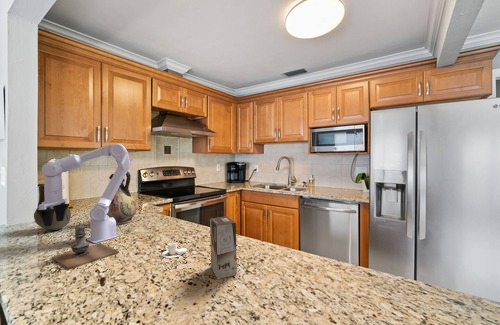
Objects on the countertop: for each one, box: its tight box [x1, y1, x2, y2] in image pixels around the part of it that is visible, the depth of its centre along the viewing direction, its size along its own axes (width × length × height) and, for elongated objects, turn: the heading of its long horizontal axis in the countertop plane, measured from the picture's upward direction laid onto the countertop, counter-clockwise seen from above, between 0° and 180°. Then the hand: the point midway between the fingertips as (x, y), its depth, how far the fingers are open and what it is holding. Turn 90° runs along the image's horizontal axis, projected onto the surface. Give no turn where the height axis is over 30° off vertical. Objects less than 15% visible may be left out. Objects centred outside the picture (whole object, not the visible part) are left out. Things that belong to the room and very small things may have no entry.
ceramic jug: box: [107, 170, 137, 225], centre depth 131 cm, size 17×15×30 cm
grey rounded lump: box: [33, 206, 72, 231], centre depth 118 cm, size 14×14×15 cm
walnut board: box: [51, 242, 120, 271], centre depth 86 cm, size 16×16×1 cm
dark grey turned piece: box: [70, 222, 91, 257], centre depth 85 cm, size 6×6×12 cm
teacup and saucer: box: [161, 241, 188, 259], centre depth 86 cm, size 9×8×4 cm
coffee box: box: [209, 216, 238, 280], centre depth 73 cm, size 9×6×16 cm
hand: (54, 223), depth 96 cm, fingers open, 7 cm apart
